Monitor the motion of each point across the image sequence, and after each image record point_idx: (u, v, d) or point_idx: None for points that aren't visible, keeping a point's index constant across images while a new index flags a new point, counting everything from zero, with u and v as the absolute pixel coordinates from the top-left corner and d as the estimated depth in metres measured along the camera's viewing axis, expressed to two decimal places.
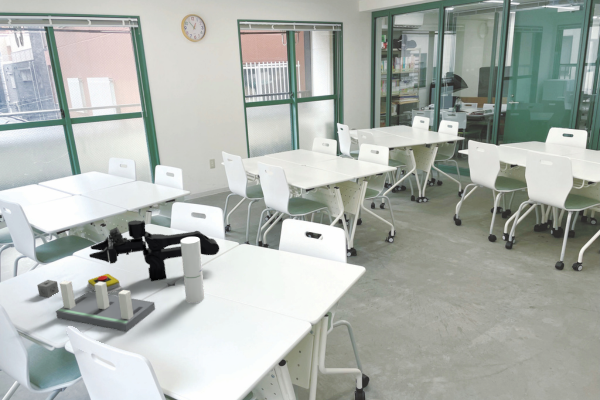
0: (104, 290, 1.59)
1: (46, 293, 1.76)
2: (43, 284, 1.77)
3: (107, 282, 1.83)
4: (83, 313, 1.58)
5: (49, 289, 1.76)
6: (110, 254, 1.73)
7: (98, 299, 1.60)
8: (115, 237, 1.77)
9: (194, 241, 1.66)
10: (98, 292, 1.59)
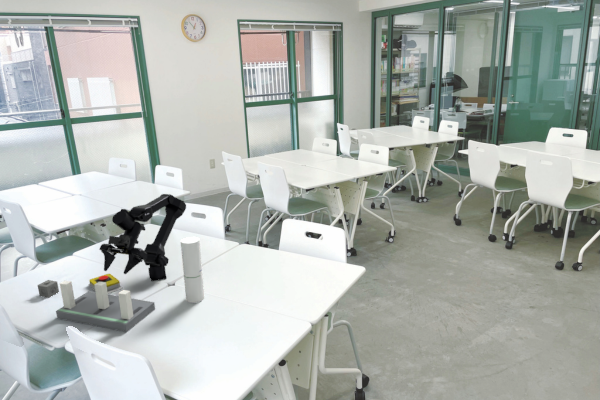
0: (104, 290, 1.59)
1: (46, 293, 1.76)
2: (43, 284, 1.77)
3: (107, 282, 1.83)
4: (83, 313, 1.58)
5: (49, 289, 1.76)
6: (141, 254, 1.66)
7: (98, 299, 1.60)
8: (125, 242, 1.65)
9: (194, 241, 1.66)
10: (98, 292, 1.59)
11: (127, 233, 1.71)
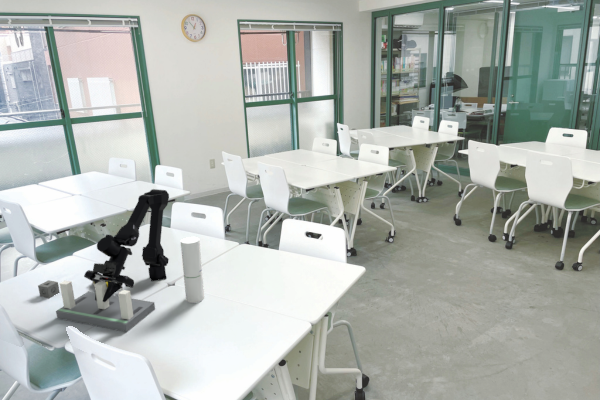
0: (104, 290, 1.59)
1: (46, 293, 1.75)
2: (44, 284, 1.76)
3: None
4: (83, 313, 1.58)
5: (50, 290, 1.76)
6: (127, 282, 1.59)
7: (98, 299, 1.60)
8: (111, 269, 1.58)
9: (194, 241, 1.65)
10: (98, 292, 1.59)
11: (113, 259, 1.64)
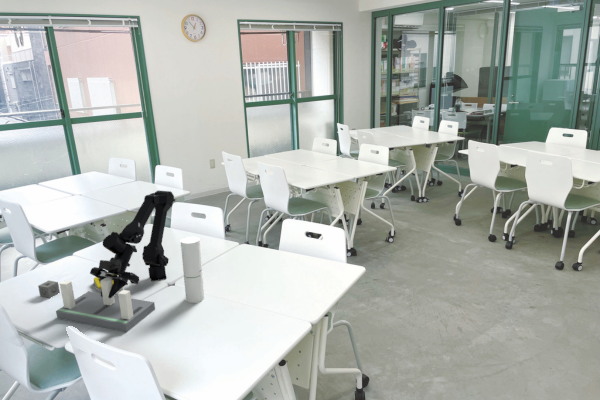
0: (110, 286, 1.62)
1: (47, 294, 1.75)
2: (44, 285, 1.76)
3: None
4: (83, 313, 1.58)
5: (50, 290, 1.76)
6: (133, 279, 1.62)
7: (104, 295, 1.62)
8: (116, 266, 1.61)
9: (194, 241, 1.65)
10: (104, 288, 1.61)
11: (118, 256, 1.67)
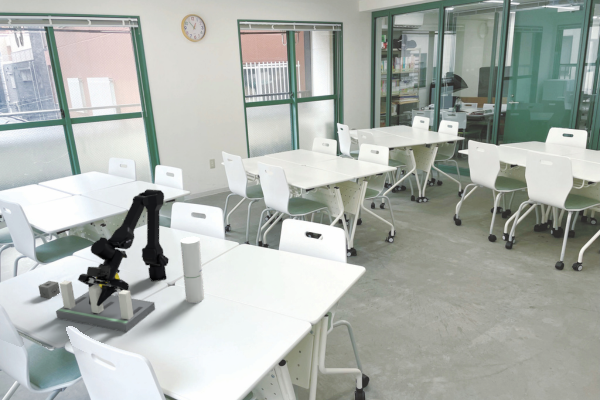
0: (98, 293, 1.56)
1: (47, 294, 1.75)
2: (44, 285, 1.76)
3: None
4: (83, 313, 1.58)
5: (50, 290, 1.75)
6: (122, 286, 1.57)
7: (92, 303, 1.57)
8: (105, 273, 1.55)
9: (194, 241, 1.65)
10: (92, 296, 1.56)
11: (107, 262, 1.61)
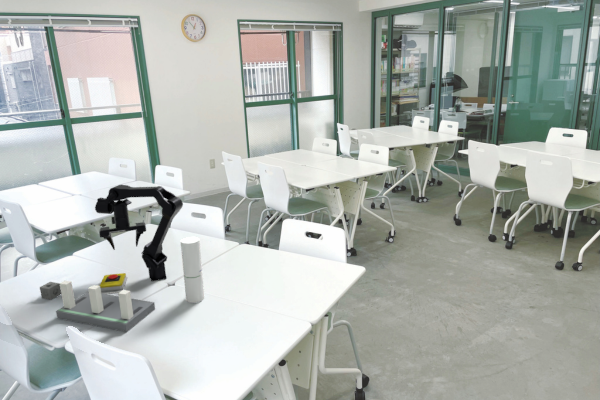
0: (98, 293, 1.56)
1: (48, 295, 1.74)
2: (45, 286, 1.75)
3: (112, 282, 1.83)
4: (83, 313, 1.58)
5: (52, 291, 1.74)
6: None
7: (92, 303, 1.57)
8: (112, 222, 1.93)
9: (194, 241, 1.66)
10: (92, 296, 1.56)
11: None
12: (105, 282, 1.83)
